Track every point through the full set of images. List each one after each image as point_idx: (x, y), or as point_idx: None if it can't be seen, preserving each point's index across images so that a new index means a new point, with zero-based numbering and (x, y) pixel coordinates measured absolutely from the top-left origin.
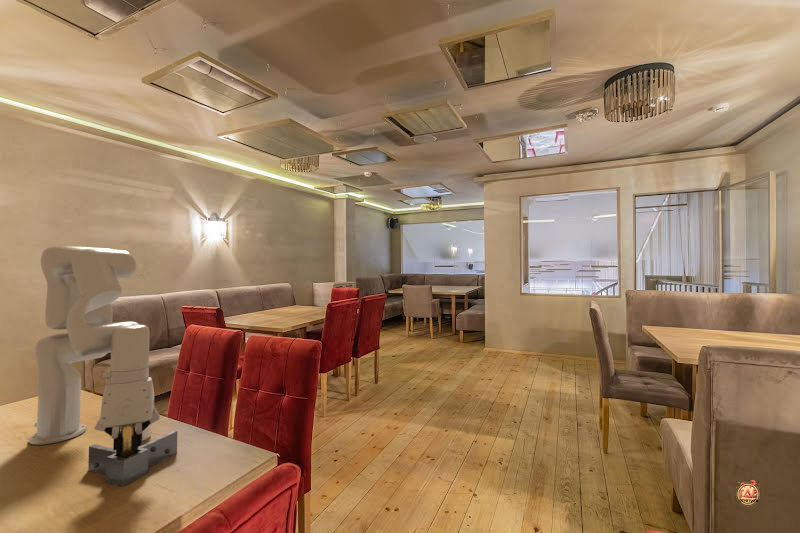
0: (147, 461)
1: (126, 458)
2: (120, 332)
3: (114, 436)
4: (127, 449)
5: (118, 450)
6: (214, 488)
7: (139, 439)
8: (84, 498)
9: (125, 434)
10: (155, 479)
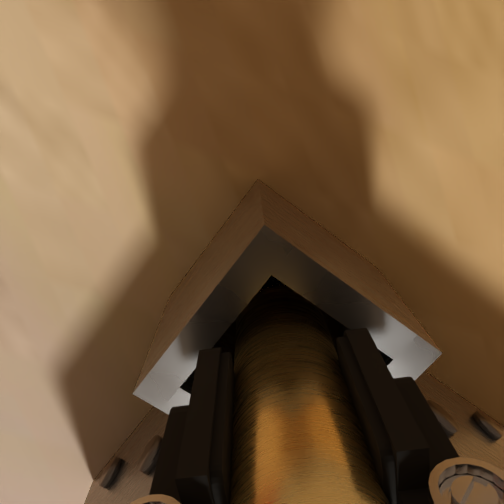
0: (156, 332)
1: (257, 265)
2: None
3: (475, 488)
4: (277, 359)
5: (356, 349)
6: None
7: (173, 452)
8: (441, 114)
9: (327, 500)
10: (90, 206)
